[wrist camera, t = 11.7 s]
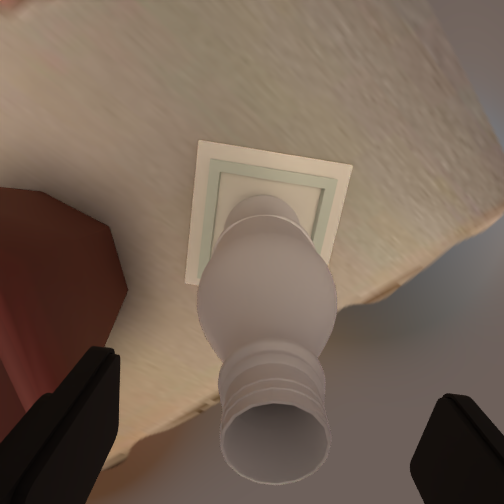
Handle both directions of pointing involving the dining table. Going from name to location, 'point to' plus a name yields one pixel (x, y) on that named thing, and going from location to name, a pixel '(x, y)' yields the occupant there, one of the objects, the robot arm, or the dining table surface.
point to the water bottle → (269, 341)
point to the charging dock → (262, 183)
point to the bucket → (50, 295)
